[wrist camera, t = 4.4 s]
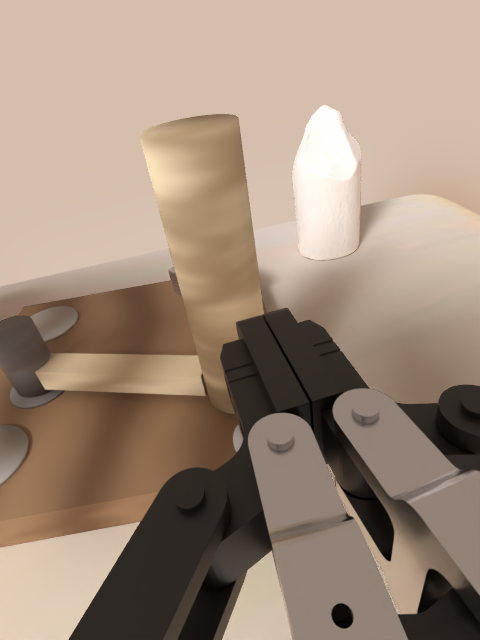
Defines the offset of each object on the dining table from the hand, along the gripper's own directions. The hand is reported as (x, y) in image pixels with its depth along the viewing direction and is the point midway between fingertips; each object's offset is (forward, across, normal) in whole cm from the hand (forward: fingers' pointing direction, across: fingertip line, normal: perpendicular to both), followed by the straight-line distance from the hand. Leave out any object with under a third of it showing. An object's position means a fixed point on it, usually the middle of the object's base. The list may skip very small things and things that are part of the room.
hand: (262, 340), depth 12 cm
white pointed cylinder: (+24, -12, +11) cm, 29 cm away
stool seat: (+12, +6, +10) cm, 17 cm away
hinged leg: (+9, +6, +8) cm, 13 cm away
